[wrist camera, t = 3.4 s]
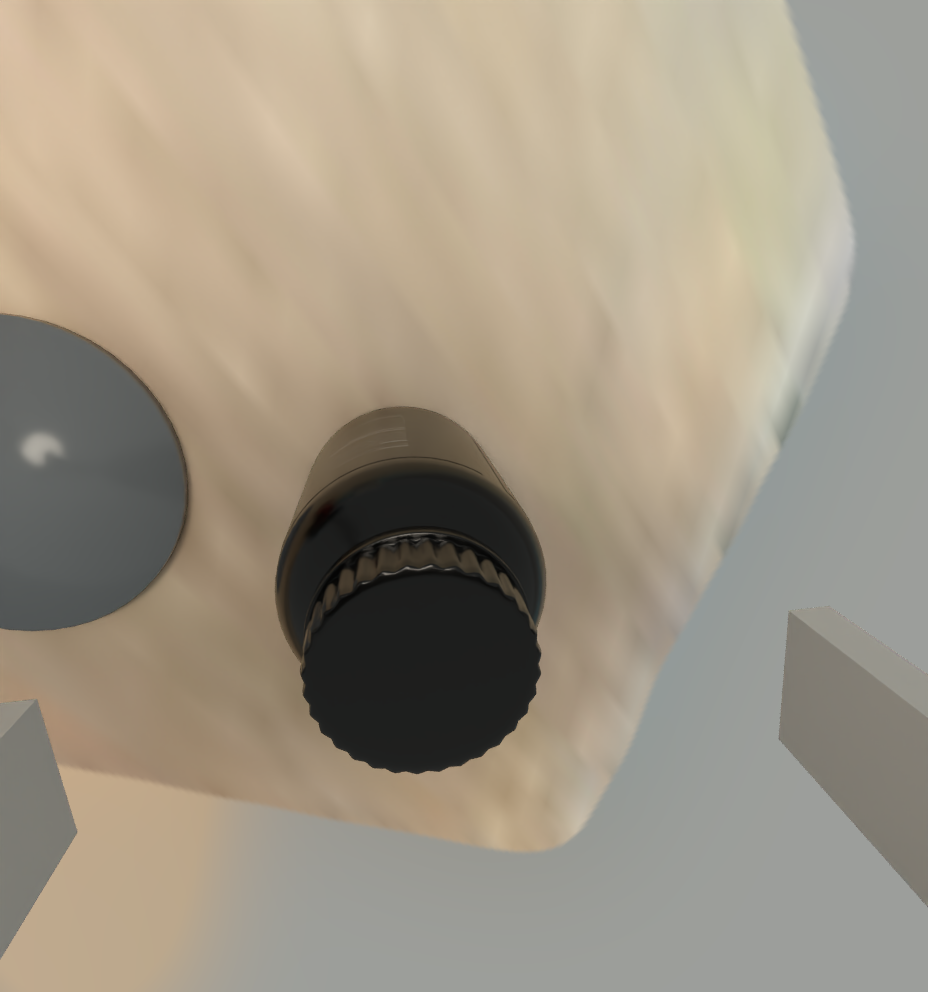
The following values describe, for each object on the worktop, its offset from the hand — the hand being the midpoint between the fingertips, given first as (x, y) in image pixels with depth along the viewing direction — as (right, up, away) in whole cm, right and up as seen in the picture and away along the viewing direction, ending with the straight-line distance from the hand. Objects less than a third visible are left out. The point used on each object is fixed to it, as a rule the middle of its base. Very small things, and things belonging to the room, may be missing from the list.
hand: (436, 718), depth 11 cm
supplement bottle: (-2, +4, +13) cm, 13 cm away
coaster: (-15, +5, +11) cm, 19 cm away
